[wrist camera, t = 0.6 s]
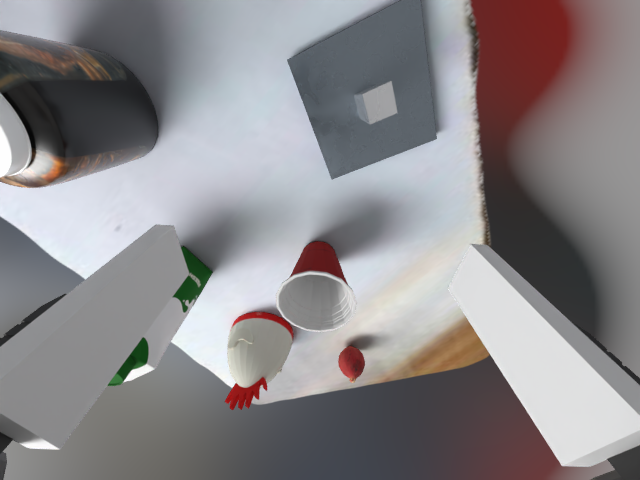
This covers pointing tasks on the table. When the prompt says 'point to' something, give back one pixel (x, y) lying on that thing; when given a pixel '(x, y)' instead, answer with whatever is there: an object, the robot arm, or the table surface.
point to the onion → (351, 362)
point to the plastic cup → (316, 291)
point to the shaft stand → (369, 89)
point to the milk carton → (165, 323)
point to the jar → (67, 112)
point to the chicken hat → (256, 354)
